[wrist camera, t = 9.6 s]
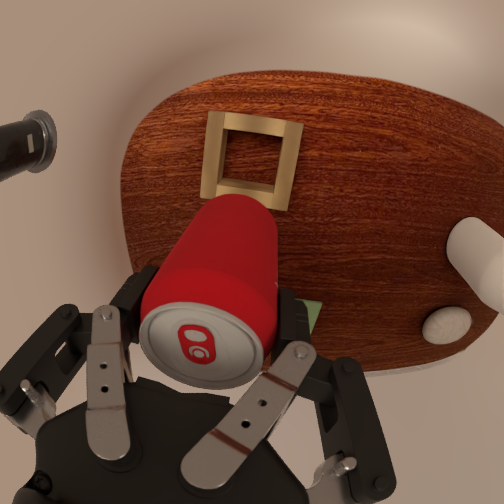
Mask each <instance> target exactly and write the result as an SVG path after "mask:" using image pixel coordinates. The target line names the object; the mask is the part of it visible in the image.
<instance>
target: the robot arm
mask: <svg viewBox="0 0 504 504" xmlns="http://www.w3.org/2000/svg"><path fill="white" fill-rule="evenodd" d="M47 150H48V133H47V129H46V127H45V125H44V123H43V122H42V121H41V120H40V119H39V118H29V119H27V120H23V121H18V122H14V123H10V124H6V125H3V126H0V182H2V181H4V180H6V179H8V178H10V177H12V176H14V175H16V174H19V173H21V172H23V171H25V170H28V169H30V168H34V167H36V166H39V165H40V164H41V163H42V162H43V161H44V159H45V157H46V154H47ZM159 269H160V267H156V266H150V265H146V266H145V267H144V269H143V270H142V271H141V273H138V272H136V273H134V274H133V275H131V276H130V277H129V278H128V279H127V281H126V282H125V284H123V286H122V287H121V289H120V290H119V291H118V292H117V294H116V295H115V297H114V298H113V299H112V301H111V302H110V304H109V305H103V306H100V307H98V308H97V309H96V310H95V311H94V313H79V310H78V308H77V306H75V305H73V304H64V305H62V306H60V307H59V308H57V309H56V311H54V312H53V313H52V314H51V315H50V317H48V318H47V319H46V321H45V322H44V323H43V324H42V325H41V326H40V327H39V328H38V329H37V330H36V331H35V332H34V333H33V334H32V335H31V336H30V338H29V339H28V340H27V341H26V342H25V343H24V344H23V345H22V346H21V347H20V348H19V350H18V351H17V352H16V353H15V354H14V355H13V357H12V358H11V359H10V360H9V361H8V362H7V363H6V365H5V366H4V367H3V368H2V370H1V371H0V412H1V413H2V414H3V415H4V416H5V417H6V418H7V419H8V420H9V421H10V422H11V423H12V424H13V425H15V426H16V427H17V428H19V429H20V430H21V431H22V432H23V433H25V434H29V435H30V436H31V437H32V438H34V439H35V440H36V441H35V446H36V468H35V472H34V474H33V476H32V477H31V479H30V480H29V481H28V482H27V483H26V484H25V485H24V486H23V487H22V488H20V489H19V490H18V491H17V493H16V494H15V497H14V499H13V503H12V504H373V503H376V502H379V501H382V500H384V499H386V498H388V497H389V496H390V495H391V494H392V493H393V492H394V490H395V488H396V477H395V473H394V469H393V466H392V462H391V458H390V455H389V451H388V448H387V444H386V441H385V438H384V434H383V431H382V427H381V425H380V421H379V418H378V415H377V412H376V408H375V406H374V402H373V399H372V396H371V393H370V390H369V388H368V385H367V382H366V379H365V376H364V373H363V370H362V368H361V366H360V364H359V363H358V362H357V361H356V360H354V359H352V358H350V357H340V358H337V359H336V360H335V361H331V360H328V359H326V358H323V357H321V356H319V355H318V354H317V353H316V350H315V348H314V347H313V346H312V345H311V337H310V327H309V317H308V308H307V306H306V305H305V303H304V302H303V301H301V300H295V291H294V290H293V289H286V288H280V289H279V293H278V330H277V336H276V340H275V343H274V346H273V348H272V349H271V367H270V368H269V370H268V371H267V372H266V373H265V372H263V373H262V374H261V375H260V376H259V377H258V378H257V380H256V381H255V382H254V383H253V384H252V385H251V387H250V388H249V389H248V390H247V392H246V393H245V394H244V395H243V396H242V397H241V399H240V400H239V401H238V402H237V403H236V404H235V406H234V405H232V404H230V403H229V399H230V397H226V396H220V395H215V394H209V393H180V392H178V391H176V390H174V389H172V388H169V387H167V386H166V385H164V384H162V383H160V382H156V381H153V380H149V379H146V378H142V377H138V378H137V381H136V382H133V377H132V369H131V362H130V352H129V345H130V343H131V342H132V343H136V344H138V343H139V330H140V326H141V316H140V312H141V303H142V299H143V296H144V293H145V291H146V289H147V288H148V286H149V285H150V283H151V281H152V280H153V278H154V277H155V275H156V273H157V272H158V270H159ZM64 342H65V343H66V344H65V346H64V347H63V348H62V349H61V350H60V352H59V353H58V354H57V355H56V356H55V353H56V351H57V350H58V349H59V348H60V346H61V345H62V344H63V343H64ZM86 360H87V401H85V402H83V403H81V404H79V405H77V406H75V407H73V408H71V409H69V410H67V411H65V412H64V413H62V414H60V415H57V416H56V414H55V412H56V404H55V403H56V402H57V400H58V399H59V397H60V396H61V394H62V393H63V392H64V390H65V389H66V387H67V386H68V384H69V383H70V382H71V380H72V379H73V378H74V376H75V375H76V374H77V372H78V371H79V370H80V368H81V367H82V365H83V364H84V363H85V361H86ZM297 395H298V396H301V397H304V398H307V399H310V400H312V401H314V403H315V409H316V413H317V419H318V424H319V429H320V435H321V441H322V446H323V452H324V457H325V461H324V462H323V463H322V464H320V465H319V466H318V467H317V468H316V470H315V472H314V481H313V484H312V486H311V487H310V488H309V489H305V487H304V486H303V485H302V483H301V482H300V481H299V480H298V479H297V478H296V476H295V475H294V474H293V473H292V471H291V470H290V469H289V468H288V466H287V465H286V464H285V463H284V461H283V460H282V459H281V457H280V456H279V455H278V454H277V452H276V451H275V450H274V448H273V447H272V446H271V444H270V443H269V442H268V439H269V437H270V436H271V434H272V433H273V432H274V430H275V429H276V427H277V425H278V424H279V422H280V420H281V419H282V418H283V416H284V414H285V413H286V411H287V410H288V408H289V407H290V405H291V404H292V402H293V401H294V399H295V397H296V396H297Z"/></svg>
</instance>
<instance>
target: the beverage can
mask: <svg viewBox="0 0 504 504" xmlns="http://www.w3.org/2000/svg"><path fill="white" fill-rule="evenodd" d="M140 316H141V326H140V330H139V342H140V345H141V348H142V350H143V352H144V354H145V355H146V357H147V358H148V359H149V361H150V362H151V363H152V364H153V365H154V366H155V367H156V368H158V369H159V370H160V371H161V372H163V373H164V374H166V375H167V376H169V377H171V378H173V379H175V380H177V381H179V382H181V383H184V384H187V385H190V386H193V387H198V388H203V389H212V390H222V389H230V388H235V387H238V386H241V385H244V384H246V383H248V382H250V381H251V380H252V379H254V378H255V377H256V376H257V374H258V373H259V372H260V370H261V368H262V365H263V361H264V360H265V359H266V357H267V356H268V355H269V353H270V351H271V349H272V348H273V346H274V343H275V340H276V336H277V330H278V234H277V226H276V223H275V220H274V218H273V216H272V214H271V213H270V211H269V210H268V209H267V208H266V207H265V206H264V205H263V204H262V203H260V202H259V201H257V200H256V199H254V198H252V197H249V196H246V195H242V194H224V195H220V196H217V197H215V198H213V199H211V200H209V201H208V202H207V203H205V204H204V205H203V206H202V207H201V209H200V210H199V211H198V213H197V214H196V216H195V217H194V218H193V220H192V221H191V223H190V224H189V226H188V227H187V228H186V230H185V231H184V233H183V234H182V236H181V237H180V239H179V240H178V242H177V243H176V245H175V246H174V248H173V249H172V251H171V252H170V254H169V255H168V257H167V258H166V260H165V261H164V263H163V264H162V266H161V267H160V269H159V270H158V272H157V273H156V275H155V277H154V278H153V280H152V281H151V283H150V285H149V286H148V288H147V289H146V291H145V293H144V296H143V299H142V303H141V312H140Z"/></svg>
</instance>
